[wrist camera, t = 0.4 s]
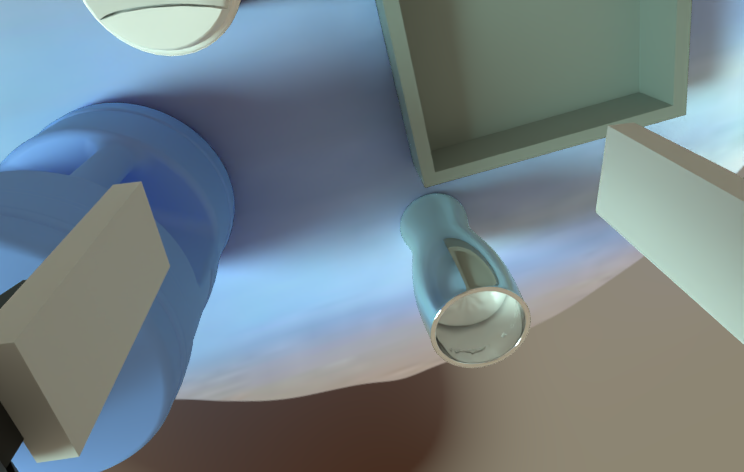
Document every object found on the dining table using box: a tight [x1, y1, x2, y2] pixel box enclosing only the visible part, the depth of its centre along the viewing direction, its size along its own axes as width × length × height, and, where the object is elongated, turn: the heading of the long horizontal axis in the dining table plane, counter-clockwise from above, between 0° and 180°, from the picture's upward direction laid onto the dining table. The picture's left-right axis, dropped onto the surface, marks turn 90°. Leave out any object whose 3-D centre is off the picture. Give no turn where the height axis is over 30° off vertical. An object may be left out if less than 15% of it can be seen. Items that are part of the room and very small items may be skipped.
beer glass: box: [400, 193, 531, 368], centre depth 39 cm, size 7×7×15 cm
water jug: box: [0, 103, 235, 472], centre depth 29 cm, size 16×16×28 cm
